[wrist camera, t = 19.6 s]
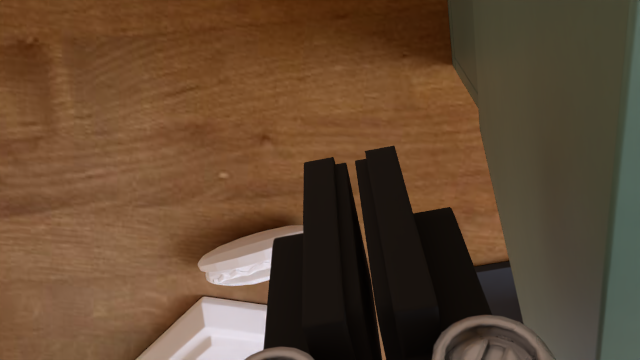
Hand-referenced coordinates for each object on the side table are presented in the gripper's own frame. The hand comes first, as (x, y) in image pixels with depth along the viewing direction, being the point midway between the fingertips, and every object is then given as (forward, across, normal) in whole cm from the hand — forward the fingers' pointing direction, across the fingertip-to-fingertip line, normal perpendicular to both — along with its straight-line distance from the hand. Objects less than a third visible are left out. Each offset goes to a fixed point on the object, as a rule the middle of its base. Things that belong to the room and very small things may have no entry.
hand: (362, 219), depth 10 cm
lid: (+4, -5, 0) cm, 6 cm away
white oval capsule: (+20, +8, +15) cm, 26 cm away
